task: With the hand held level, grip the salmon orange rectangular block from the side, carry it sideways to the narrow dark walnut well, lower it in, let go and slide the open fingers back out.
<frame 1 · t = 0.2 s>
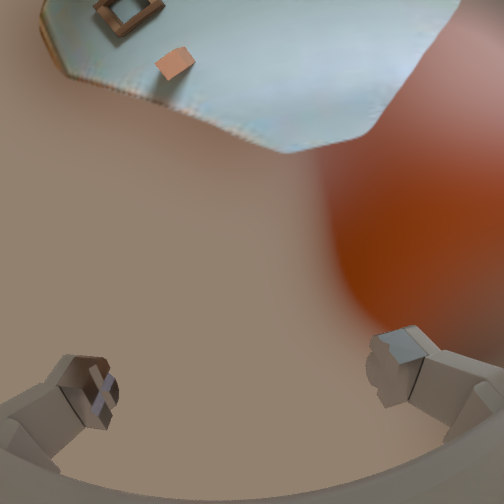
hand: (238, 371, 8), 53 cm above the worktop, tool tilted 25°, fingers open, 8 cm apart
salmon orange rectangular block: (181, 59, 42), on the worktop
walnut well: (131, 5, 32), on the worktop
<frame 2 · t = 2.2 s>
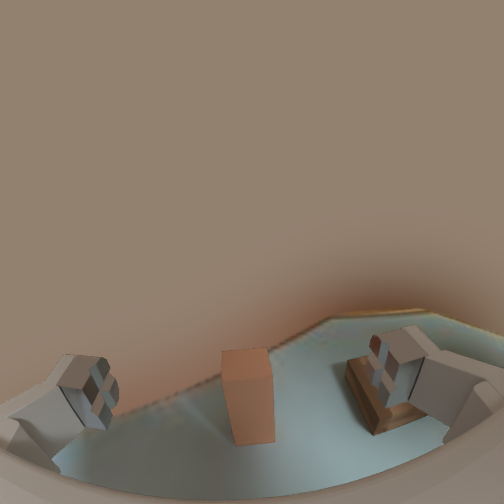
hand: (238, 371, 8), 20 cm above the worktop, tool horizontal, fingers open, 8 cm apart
salmon orange rectangular block: (253, 430, 25), on the worktop
walnut well: (394, 393, 27), on the worktop
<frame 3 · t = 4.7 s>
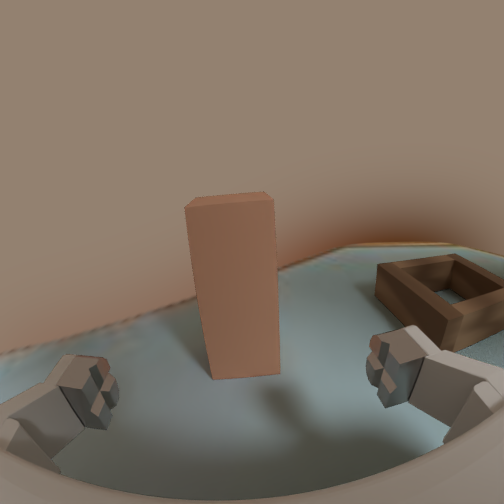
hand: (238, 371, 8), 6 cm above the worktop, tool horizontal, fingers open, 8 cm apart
salmon orange rectangular block: (244, 356, 17), on the worktop
walnut well: (446, 310, 19), on the worktop
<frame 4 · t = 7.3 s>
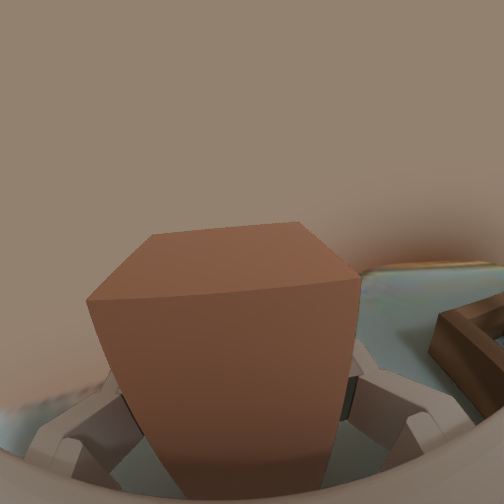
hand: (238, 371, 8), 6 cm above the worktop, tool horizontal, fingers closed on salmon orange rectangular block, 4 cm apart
salmon orange rectangular block: (254, 481, 9), on the worktop, touching gripper
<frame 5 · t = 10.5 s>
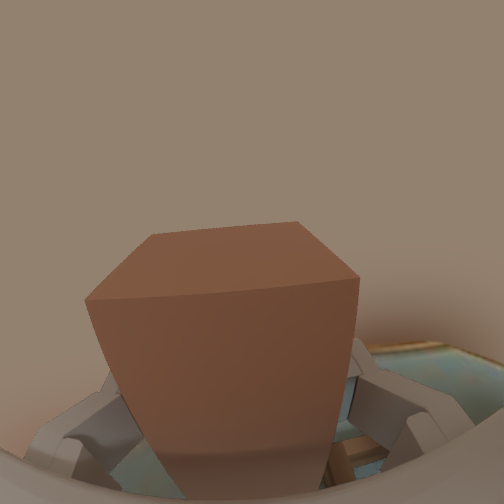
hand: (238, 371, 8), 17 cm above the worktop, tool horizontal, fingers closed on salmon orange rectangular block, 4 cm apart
salmon orange rectangular block: (253, 481, 9), point 11 cm above the worktop, touching gripper
walnut well: (392, 490, 13), on the worktop
when the fingers open (7 cm above the worktop, at t = 13.7 s): salmon orange rectangular block drops 1 cm, resting in walnut well.
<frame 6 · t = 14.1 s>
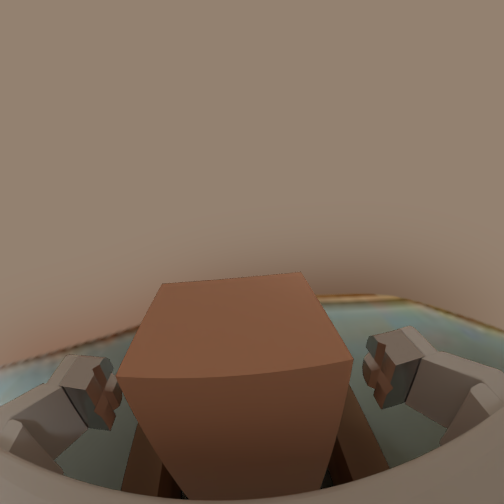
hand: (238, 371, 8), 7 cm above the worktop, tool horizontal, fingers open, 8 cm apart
salmon orange rectangular block: (257, 492, 9), resting in walnut well
walnut well: (256, 491, 9), on the worktop
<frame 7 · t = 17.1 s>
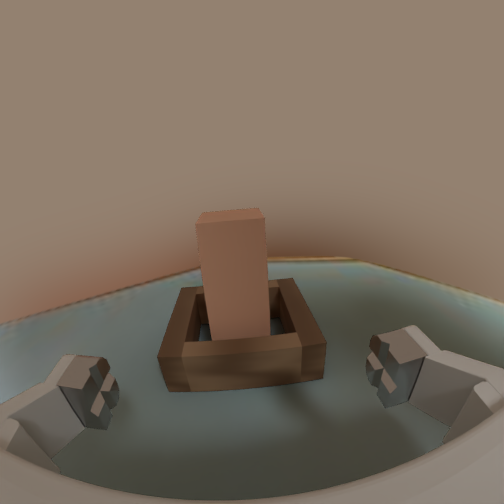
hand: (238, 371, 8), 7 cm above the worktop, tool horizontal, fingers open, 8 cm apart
salmon orange rectangular block: (242, 344, 21), resting in walnut well
walnut well: (242, 344, 21), on the worktop
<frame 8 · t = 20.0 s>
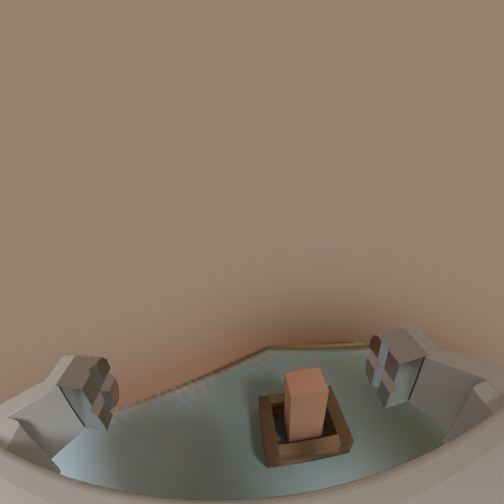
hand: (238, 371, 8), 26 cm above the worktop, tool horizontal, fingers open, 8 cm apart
salmon orange rectangular block: (301, 432, 30), resting in walnut well
walnut well: (301, 431, 30), on the worktop
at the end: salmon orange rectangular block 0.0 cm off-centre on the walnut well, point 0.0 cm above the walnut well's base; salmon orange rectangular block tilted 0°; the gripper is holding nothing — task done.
